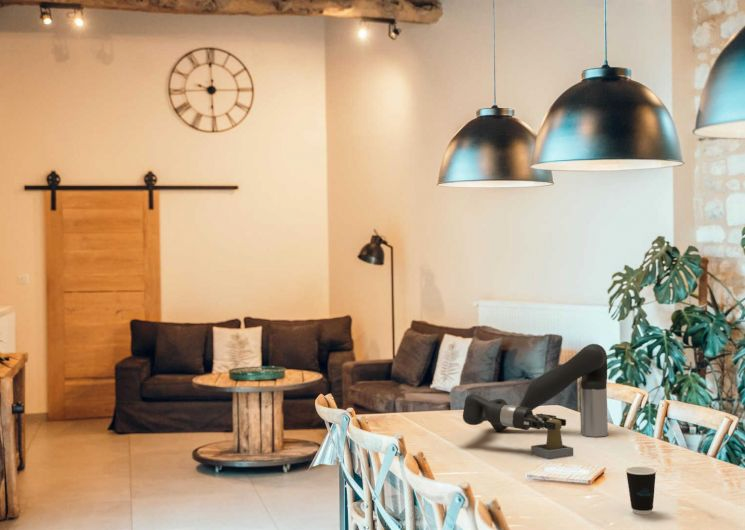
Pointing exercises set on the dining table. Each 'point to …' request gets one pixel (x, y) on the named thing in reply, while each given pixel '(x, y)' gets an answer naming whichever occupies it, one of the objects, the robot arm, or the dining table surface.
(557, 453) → the tray
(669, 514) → the dining table surface
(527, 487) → the dining table surface
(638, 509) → the dixie cup
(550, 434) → the olive game piece
